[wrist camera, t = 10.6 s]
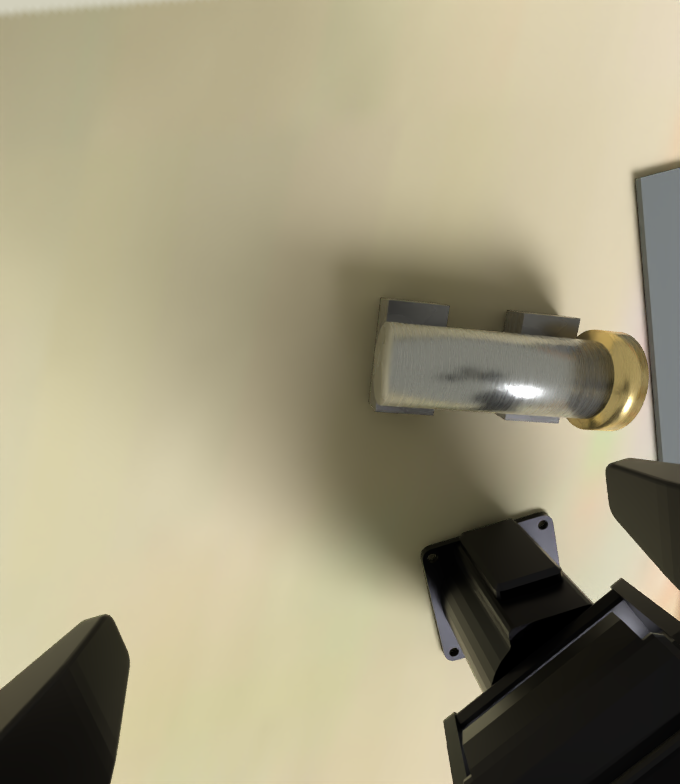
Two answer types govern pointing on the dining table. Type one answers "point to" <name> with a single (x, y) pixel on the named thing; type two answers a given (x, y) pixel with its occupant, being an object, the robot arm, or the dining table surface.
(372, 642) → the dining table surface
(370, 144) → the dining table surface
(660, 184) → the seat mat
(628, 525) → the robot arm
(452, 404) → the shaft
